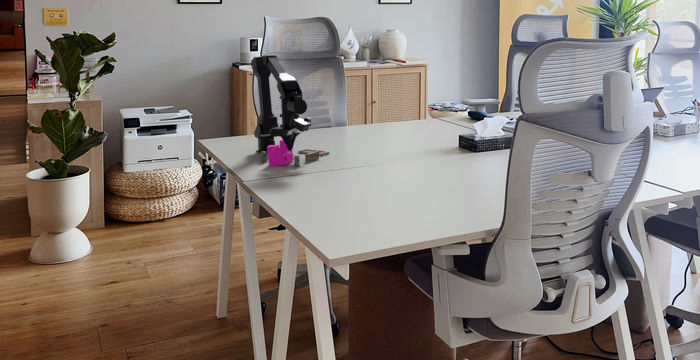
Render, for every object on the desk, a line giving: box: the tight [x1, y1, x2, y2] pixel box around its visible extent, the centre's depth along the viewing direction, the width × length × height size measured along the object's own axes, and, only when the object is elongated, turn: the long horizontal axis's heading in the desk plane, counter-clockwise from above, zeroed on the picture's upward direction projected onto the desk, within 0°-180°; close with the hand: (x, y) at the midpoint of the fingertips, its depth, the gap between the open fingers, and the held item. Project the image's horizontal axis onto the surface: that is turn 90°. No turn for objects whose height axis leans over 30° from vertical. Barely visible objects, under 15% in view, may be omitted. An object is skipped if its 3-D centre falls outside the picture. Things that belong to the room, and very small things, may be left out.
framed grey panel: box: [260, 148, 330, 168], centre depth 294 cm, size 18×27×4 cm, turn 149°
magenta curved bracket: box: [267, 139, 294, 166], centre depth 288 cm, size 15×6×8 cm, turn 163°
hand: (290, 150), depth 289 cm, fingers closed
